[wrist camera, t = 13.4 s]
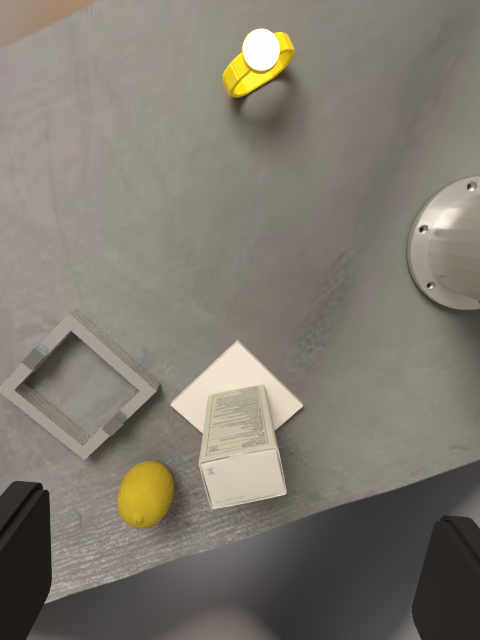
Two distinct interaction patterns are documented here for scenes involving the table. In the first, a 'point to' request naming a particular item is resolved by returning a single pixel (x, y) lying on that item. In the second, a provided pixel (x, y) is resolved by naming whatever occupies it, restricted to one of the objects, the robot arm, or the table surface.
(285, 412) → the pad
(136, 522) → the lemon
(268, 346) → the table surface
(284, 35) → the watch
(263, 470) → the skincare box
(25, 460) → the table surface
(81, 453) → the grey square frame
